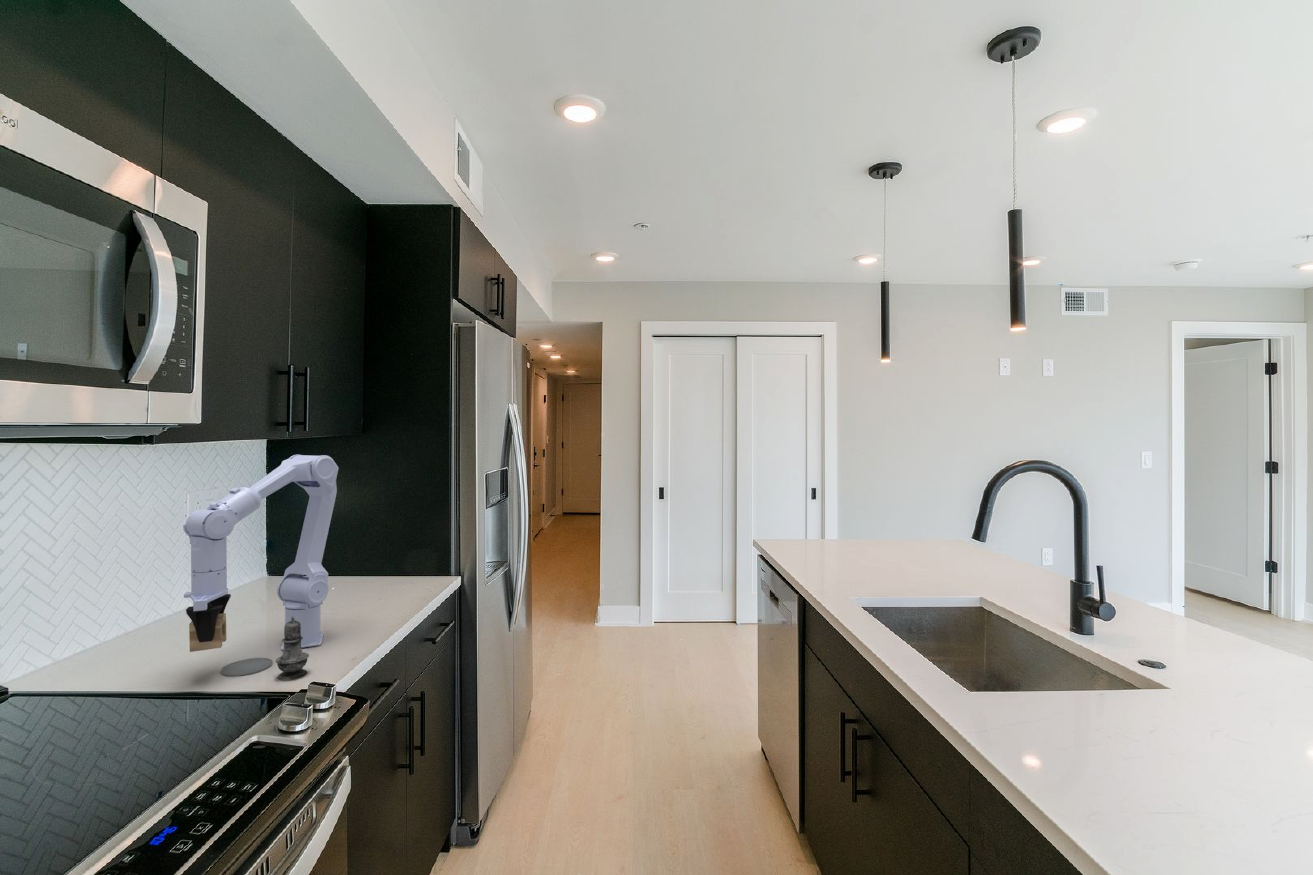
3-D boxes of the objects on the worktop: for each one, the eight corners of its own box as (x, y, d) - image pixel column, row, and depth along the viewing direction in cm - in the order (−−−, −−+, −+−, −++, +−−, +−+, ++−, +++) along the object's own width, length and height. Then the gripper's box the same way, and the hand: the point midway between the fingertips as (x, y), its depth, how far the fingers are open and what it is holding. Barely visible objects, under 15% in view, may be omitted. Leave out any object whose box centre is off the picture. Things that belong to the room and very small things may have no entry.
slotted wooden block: (196, 643, 121) (196, 616, 121) (226, 639, 123) (225, 613, 123) (189, 651, 117) (189, 624, 117) (220, 647, 119) (220, 620, 119)
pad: (225, 663, 127) (225, 661, 127) (275, 656, 131) (275, 655, 131) (215, 679, 119) (216, 677, 119) (269, 671, 123) (269, 669, 123)
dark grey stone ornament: (293, 682, 118) (293, 621, 118) (268, 679, 119) (268, 619, 119) (315, 670, 124) (316, 613, 124) (291, 668, 125) (291, 611, 125)
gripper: (194, 563, 125) (194, 628, 125) (173, 579, 112) (173, 652, 112) (235, 560, 128) (235, 623, 128) (219, 576, 115) (219, 646, 115)
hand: (209, 636), depth 120 cm, fingers closed on slotted wooden block, 5 cm apart
